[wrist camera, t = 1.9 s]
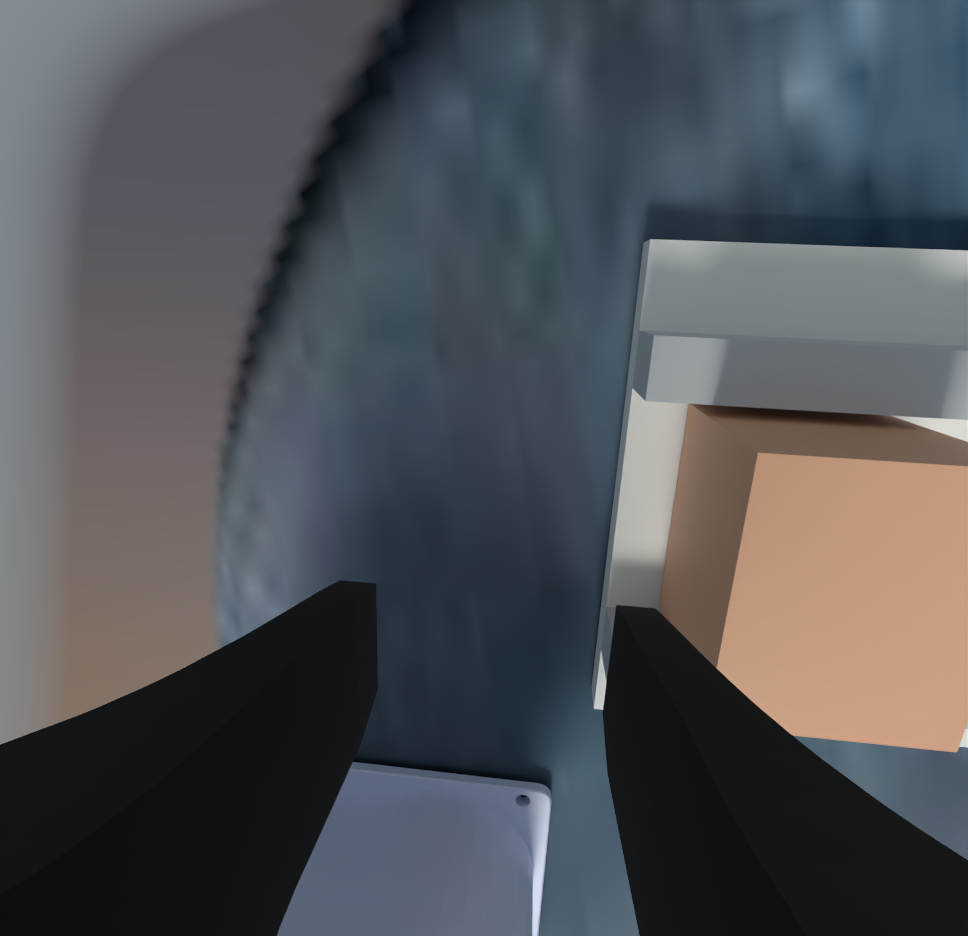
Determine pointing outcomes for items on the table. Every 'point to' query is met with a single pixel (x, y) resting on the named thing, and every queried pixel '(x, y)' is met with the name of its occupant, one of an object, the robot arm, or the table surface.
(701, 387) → the chute
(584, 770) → the table surface
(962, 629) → the block
